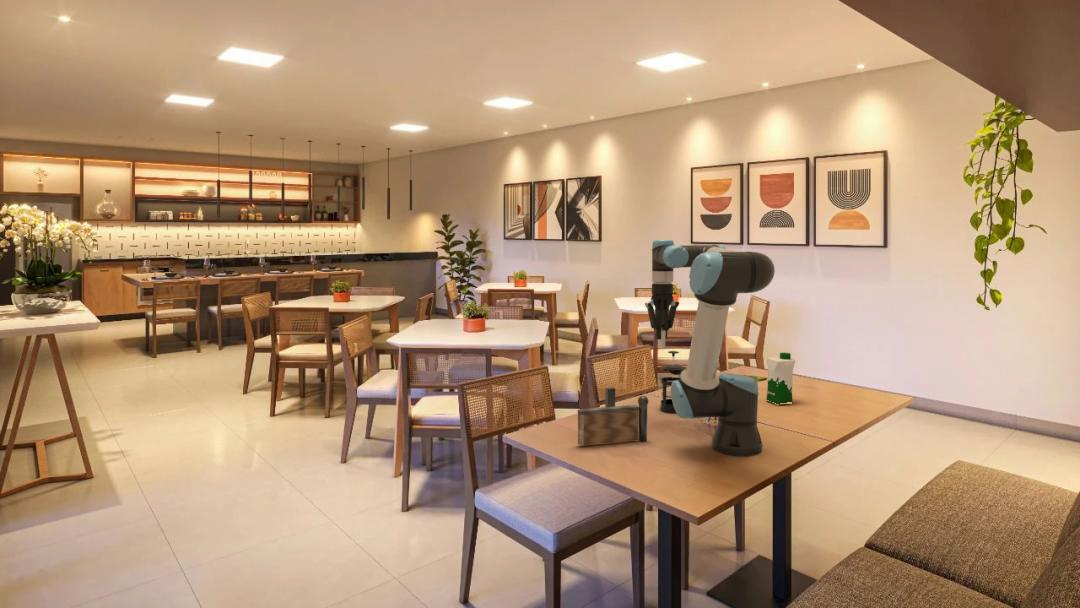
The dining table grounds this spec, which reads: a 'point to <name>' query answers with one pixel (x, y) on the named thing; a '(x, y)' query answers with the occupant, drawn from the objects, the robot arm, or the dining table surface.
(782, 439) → the dining table surface
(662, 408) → the french press
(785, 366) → the milk carton
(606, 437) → the gate
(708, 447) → the dining table surface
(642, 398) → the gate post
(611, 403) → the latch post
